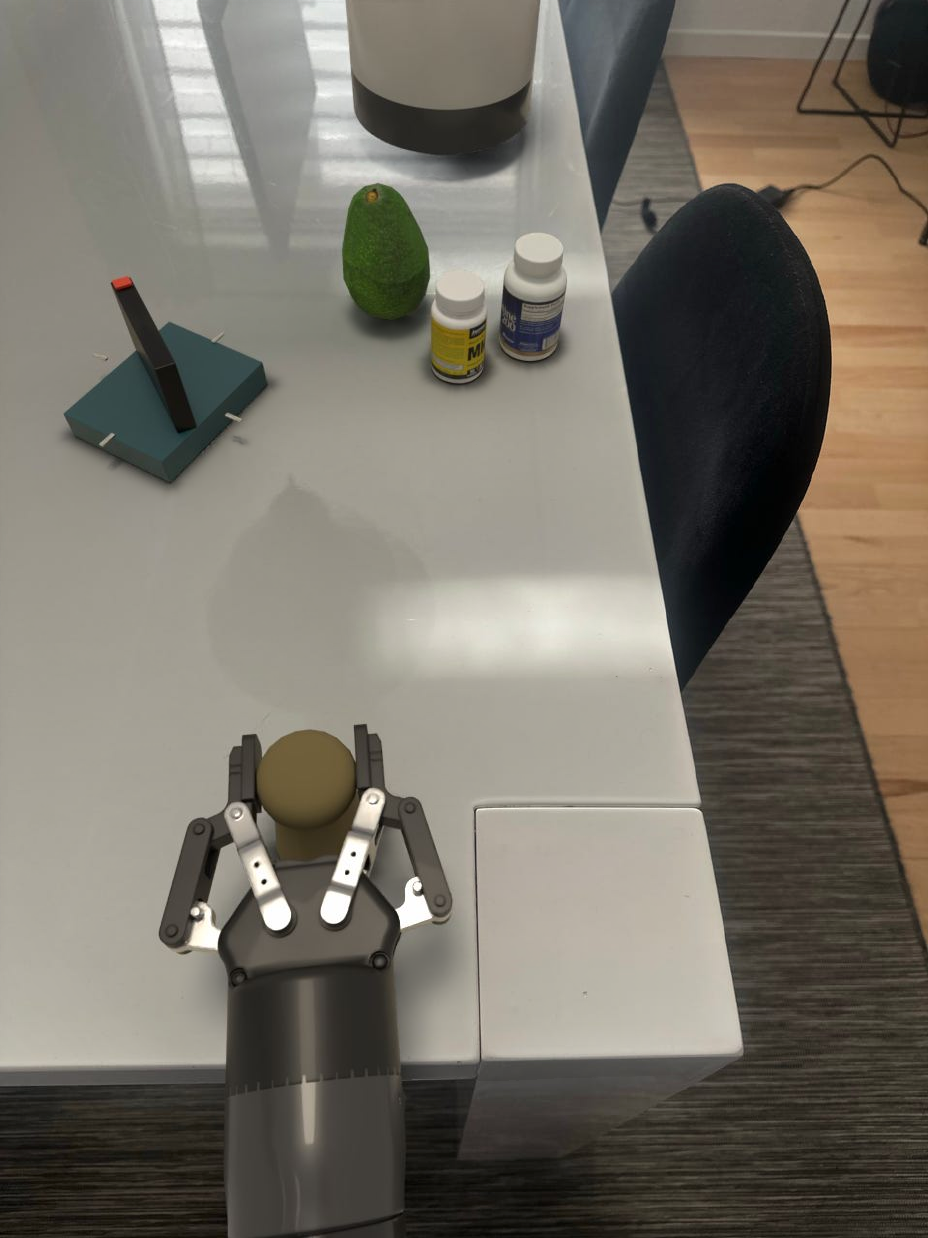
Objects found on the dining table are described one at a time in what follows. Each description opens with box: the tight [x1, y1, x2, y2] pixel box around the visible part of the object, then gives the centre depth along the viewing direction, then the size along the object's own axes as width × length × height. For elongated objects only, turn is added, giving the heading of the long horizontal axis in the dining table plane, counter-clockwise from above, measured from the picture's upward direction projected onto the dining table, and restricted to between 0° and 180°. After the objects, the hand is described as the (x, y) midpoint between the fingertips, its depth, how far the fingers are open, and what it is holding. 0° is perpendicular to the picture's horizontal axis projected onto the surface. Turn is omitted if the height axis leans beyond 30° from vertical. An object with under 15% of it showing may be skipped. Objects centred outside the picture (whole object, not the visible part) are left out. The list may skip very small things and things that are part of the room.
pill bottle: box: [498, 232, 568, 362], centre depth 72 cm, size 5×5×10 cm
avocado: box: [341, 182, 431, 321], centre depth 73 cm, size 8×8×12 cm
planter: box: [344, 0, 541, 156], centre depth 86 cm, size 19×19×18 cm
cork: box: [256, 728, 360, 861], centre depth 46 cm, size 6×6×11 cm
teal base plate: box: [63, 321, 268, 484], centre depth 69 cm, size 15×15×3 cm
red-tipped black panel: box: [110, 275, 197, 433], centre depth 65 cm, size 11×2×7 cm, turn 29°
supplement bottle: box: [430, 269, 488, 384], centre depth 71 cm, size 5×5×8 cm
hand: (306, 736), depth 45 cm, fingers closed on cork, 5 cm apart
